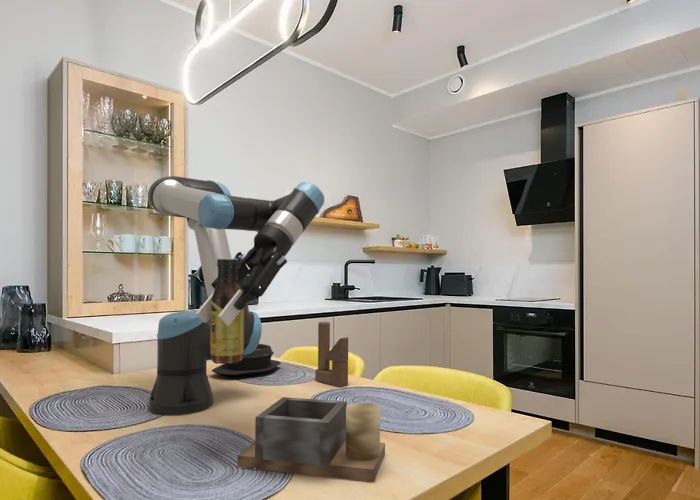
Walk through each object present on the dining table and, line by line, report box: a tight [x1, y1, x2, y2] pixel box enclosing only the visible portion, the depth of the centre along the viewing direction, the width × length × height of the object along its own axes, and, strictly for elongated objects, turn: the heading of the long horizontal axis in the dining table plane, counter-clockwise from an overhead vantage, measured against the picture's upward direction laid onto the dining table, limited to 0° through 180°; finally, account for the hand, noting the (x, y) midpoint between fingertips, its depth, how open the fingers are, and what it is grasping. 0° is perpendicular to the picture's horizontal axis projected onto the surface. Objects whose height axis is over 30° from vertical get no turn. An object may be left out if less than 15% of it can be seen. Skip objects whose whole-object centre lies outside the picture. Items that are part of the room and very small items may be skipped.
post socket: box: [236, 396, 386, 483], centre depth 86 cm, size 24×13×10 cm, turn 77°
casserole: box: [211, 343, 282, 376], centre depth 158 cm, size 25×19×8 cm
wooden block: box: [314, 321, 349, 388], centre depth 143 cm, size 4×11×18 cm, turn 47°
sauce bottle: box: [210, 258, 244, 365], centre depth 91 cm, size 6×6×20 cm
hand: (212, 319), depth 89 cm, fingers closed on sauce bottle, 6 cm apart
